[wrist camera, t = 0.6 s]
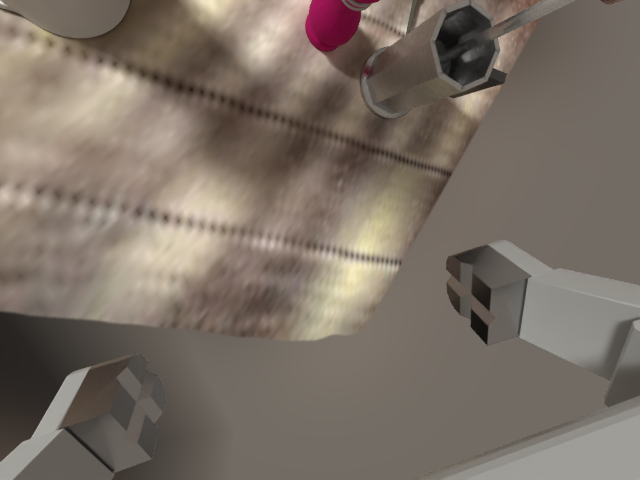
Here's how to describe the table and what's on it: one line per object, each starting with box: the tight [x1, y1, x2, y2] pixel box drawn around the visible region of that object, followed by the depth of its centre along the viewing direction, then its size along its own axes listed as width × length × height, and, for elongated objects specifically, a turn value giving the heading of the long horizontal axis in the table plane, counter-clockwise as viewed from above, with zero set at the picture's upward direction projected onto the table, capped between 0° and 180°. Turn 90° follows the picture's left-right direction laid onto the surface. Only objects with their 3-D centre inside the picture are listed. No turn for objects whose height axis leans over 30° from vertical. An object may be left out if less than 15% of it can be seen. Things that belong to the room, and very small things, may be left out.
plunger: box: [435, 0, 622, 76], centre depth 32 cm, size 6×6×26 cm
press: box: [360, 0, 507, 119], centre depth 46 cm, size 11×14×18 cm
